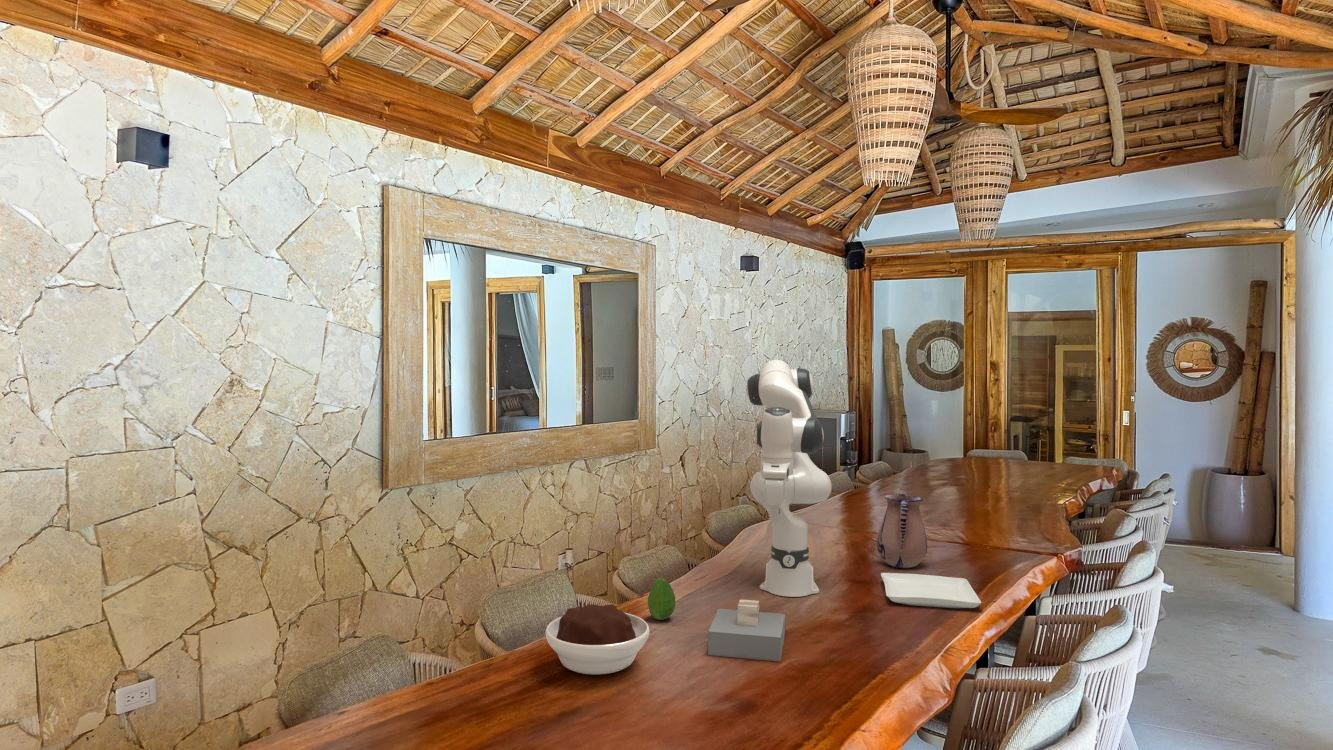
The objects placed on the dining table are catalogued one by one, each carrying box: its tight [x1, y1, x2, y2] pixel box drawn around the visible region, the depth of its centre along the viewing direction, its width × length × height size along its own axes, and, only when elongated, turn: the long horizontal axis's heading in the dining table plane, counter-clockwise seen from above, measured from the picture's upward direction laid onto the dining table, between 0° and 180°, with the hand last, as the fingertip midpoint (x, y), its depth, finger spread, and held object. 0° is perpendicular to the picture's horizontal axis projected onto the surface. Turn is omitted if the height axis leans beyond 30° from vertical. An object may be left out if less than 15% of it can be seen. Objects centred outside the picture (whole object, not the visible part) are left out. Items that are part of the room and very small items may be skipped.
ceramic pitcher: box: [876, 493, 928, 569], centre depth 282 cm, size 18×21×25 cm
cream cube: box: [737, 599, 760, 626], centre depth 205 cm, size 5×5×5 cm
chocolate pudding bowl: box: [545, 604, 650, 676], centre depth 190 cm, size 25×25×15 cm
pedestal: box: [707, 608, 786, 662], centre depth 205 cm, size 18×18×6 cm
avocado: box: [647, 577, 676, 621], centre depth 224 cm, size 8×8×12 cm
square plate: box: [880, 572, 982, 609], centre depth 248 cm, size 27×27×4 cm
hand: (776, 518), depth 215 cm, fingers open, 8 cm apart
